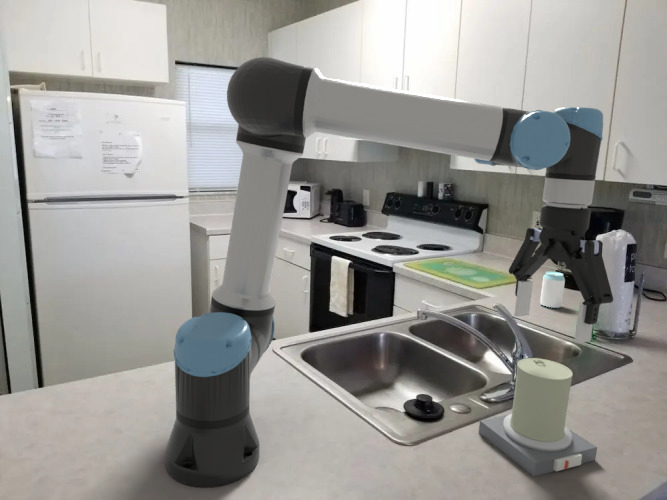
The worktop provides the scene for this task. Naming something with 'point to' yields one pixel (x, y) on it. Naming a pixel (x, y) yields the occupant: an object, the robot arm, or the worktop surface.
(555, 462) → the scale
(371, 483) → the worktop surface
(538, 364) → the can
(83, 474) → the worktop surface
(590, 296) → the robot arm
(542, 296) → the can
